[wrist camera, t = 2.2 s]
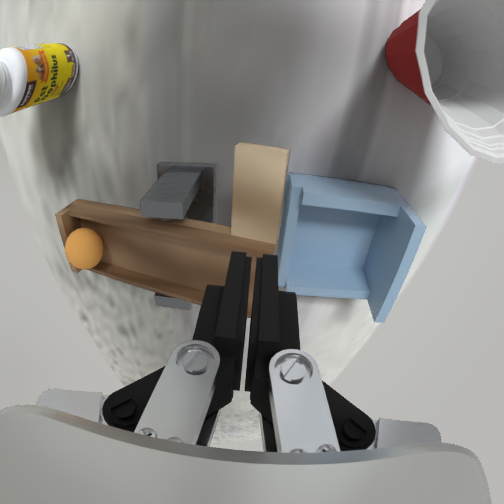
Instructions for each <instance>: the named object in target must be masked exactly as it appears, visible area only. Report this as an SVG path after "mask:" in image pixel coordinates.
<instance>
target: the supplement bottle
mask: <svg viewBox="0 0 504 504" xmlns="http://www.w3.org/2000/svg"><path fill="white" fill-rule="evenodd" d="M77 72H78V59H77V56H76V53H75V51H74V50H73V49H72V48H71V47H70V46H68V45H66V44H61V43H56V44H37V45H26V46H17V47H9V48H4V49H2V50H0V117H1V116H6V115H9V114H11V113H14V112H16V111H19V110H22V109H25V108H28V107H30V106H33V105H36V104H39V103H42V102H46V101H49V100H52V99H55V98H58V97H60V96H62V95H64V94H65V93H66V92H67V91H68V90H69V89H70V88H71V87H72V85H73V83H74V81H75V79H76V76H77Z"/></svg>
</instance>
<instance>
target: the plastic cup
mask: <svg viewBox="0 0 504 504" xmlns="http://www.w3.org/2000/svg"><path fill="white" fill-rule="evenodd" d="M385 56H386V59H387V63H388V66H389V69H390V70H391V71H392V73H393V74H394V76H395V77H396V79H397V80H398V81H399V82H400V83H402V84H403V85H404V86H406V87H407V88H408V89H410V90H411V91H413V92H414V93H415V94H417V95H418V96H419V97H420V98H422V99H423V100H424V101H426V102H427V103H428V104H430V105H431V106H432V107H433V109H434V110H435V112H436V114H437V116H438V118H439V120H440V122H441V124H442V126H443V128H444V130H445V131H446V132H447V133H448V134H449V135H450V136H451V137H452V138H453V139H455V140H456V141H457V142H458V143H459V144H460V145H461V146H462V147H463V148H464V149H465V150H466V151H467V152H468V153H469V154H470V155H473V156H476V157H478V158H481V159H484V160H487V161H490V162H492V163H495V164H499V163H504V0H426V2H425V3H424V5H423V7H422V8H421V9H420V10H419V11H418V12H416V13H415V14H414V15H412V16H411V17H409V18H408V19H407V20H405V21H404V22H403V23H402V24H401V25H400V27H398V28H397V29H395V30H394V31H393V32H392V34H391V35H390V37H389V39H388V41H387V43H386V53H385Z"/></svg>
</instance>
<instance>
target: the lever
mask: <svg viewBox="0 0 504 504" xmlns="http://www.w3.org/2000/svg"><path fill="white" fill-rule="evenodd" d="M289 153H290V149H286V148H280V147H273V146H267V145H260V144H252V143H244V142H239V143H238V144H237V145H235V153H234V173H233V196H232V220H231V227H229V226H224V225H219V224H214V223H209V222H203V221H198V220H193V219H188V218H184V219H169V218H154V217H142V214H141V210H139V209H133V208H128V207H122V206H117V205H111V204H105V203H99V202H93V201H88V200H82V199H77V200H75V201H74V202H72V203H71V204H69V205H68V206H67V207H65V208H64V209H62V210H61V211H59V212H58V213H57V214H55V215H56V219H57V223H58V227H59V230H60V234H61V237H62V241H63V244H64V248H65V244H66V241H67V238H68V237H69V235H70V234H71V233H72V232H73V231H75V230H77V229H79V228H90V229H92V230H94V231H96V232H97V233H98V234H99V236H100V237H101V239H102V242H103V246H104V251H103V255H102V258H101V260H100V261H99V263H98V264H97V265H96V266H94V267H92V268H90V269H87V270H90V271H92V272H95V273H98V274H101V275H104V276H107V277H110V278H113V279H116V280H119V281H122V282H125V283H128V284H132V285H135V286H138V287H141V288H144V289H147V290H151V291H154V292H157V293H161V294H164V295H167V296H171V297H174V298H178V299H181V300H184V301H188V302H191V303H195V304H199V305H202V301H203V297H204V293H205V290H206V286H207V285H208V284H209V285H219V286H225V281H226V276H227V271H228V266H229V261H230V256H231V252H232V251H236V252H246V256H248V257H252V262H251V274H250V286H249V298H248V309H247V317H248V318H251V311H252V301H253V290H254V280H255V270H256V259H257V257H259V258H262V256H263V254H270V255H276V253H277V245H278V238H279V231H280V224H281V216H282V208H283V201H284V193H285V185H286V177H287V169H288V161H289ZM69 263H70V262H69ZM70 266H71V269H72V271H73V272H76V273H78V272H79V271H80V270H81V269H78V268H76V267H74V266H73V265H72V264H71V263H70Z"/></svg>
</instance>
